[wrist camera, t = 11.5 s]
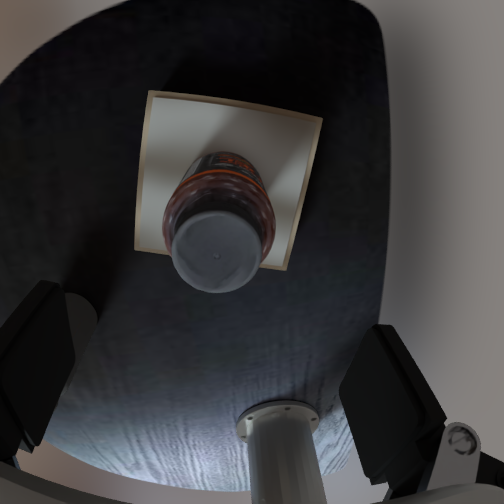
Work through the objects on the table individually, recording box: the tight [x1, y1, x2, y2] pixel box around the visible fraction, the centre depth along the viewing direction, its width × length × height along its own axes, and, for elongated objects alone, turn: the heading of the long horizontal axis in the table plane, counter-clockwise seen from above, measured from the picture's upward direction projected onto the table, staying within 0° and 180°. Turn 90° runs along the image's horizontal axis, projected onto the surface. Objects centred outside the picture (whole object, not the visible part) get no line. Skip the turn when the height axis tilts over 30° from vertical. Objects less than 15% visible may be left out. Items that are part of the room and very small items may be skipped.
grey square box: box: [134, 91, 323, 271], centre depth 26 cm, size 13×13×4 cm
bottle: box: [53, 293, 97, 412], centre depth 27 cm, size 6×6×15 cm
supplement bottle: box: [162, 151, 276, 293], centre depth 19 cm, size 6×6×11 cm
